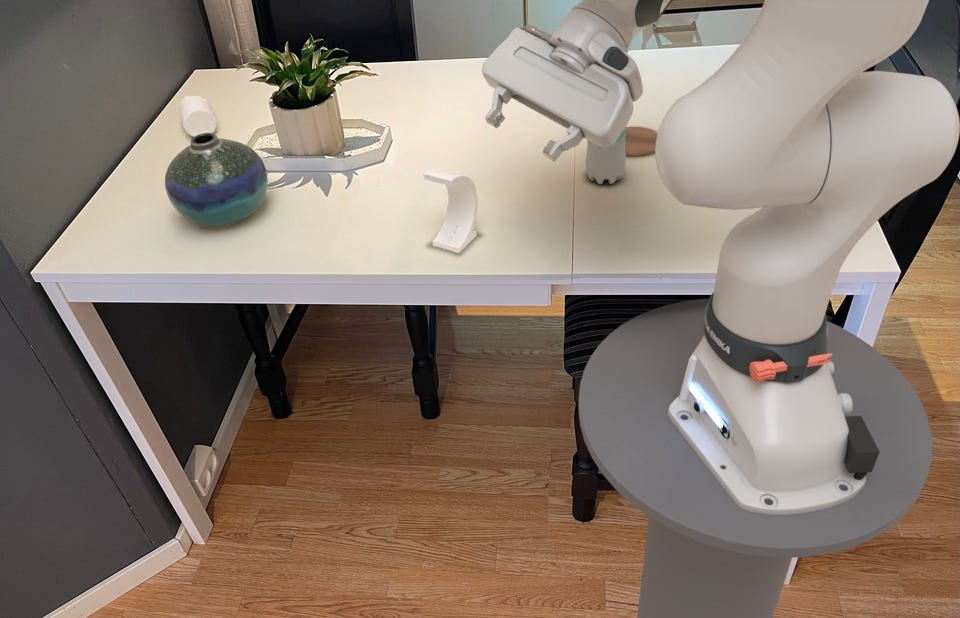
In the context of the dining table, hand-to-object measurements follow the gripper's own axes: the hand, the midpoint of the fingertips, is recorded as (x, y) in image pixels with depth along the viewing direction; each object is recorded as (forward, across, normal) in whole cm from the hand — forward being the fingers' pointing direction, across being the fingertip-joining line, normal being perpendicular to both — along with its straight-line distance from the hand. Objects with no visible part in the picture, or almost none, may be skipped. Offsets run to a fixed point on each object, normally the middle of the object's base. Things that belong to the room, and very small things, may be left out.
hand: (518, 140), depth 98 cm
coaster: (-20, -4, +39) cm, 45 cm away
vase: (+31, -43, +14) cm, 54 cm away
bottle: (-10, -1, +32) cm, 34 cm away
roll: (+22, -75, +27) cm, 82 cm away
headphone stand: (+13, -8, +18) cm, 23 cm away
